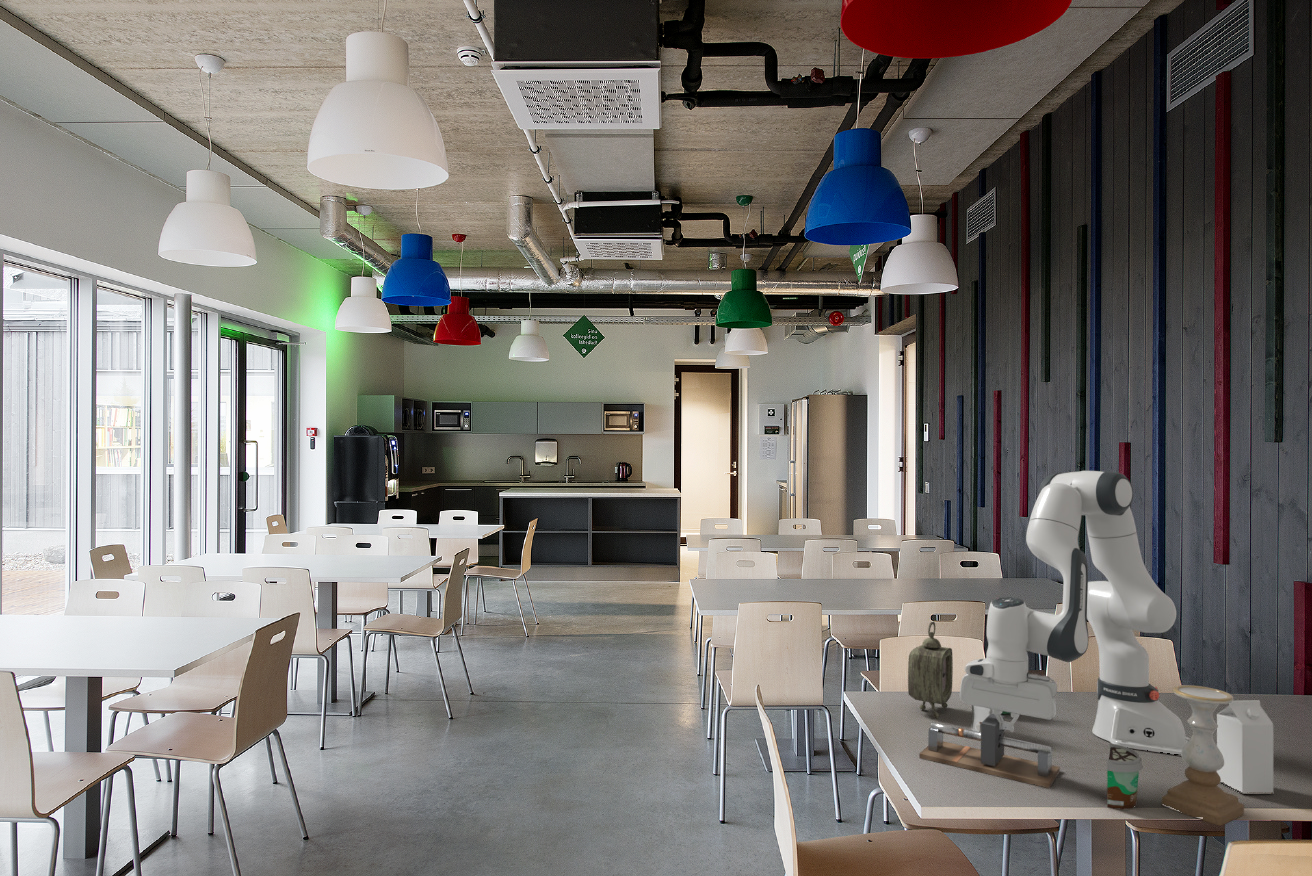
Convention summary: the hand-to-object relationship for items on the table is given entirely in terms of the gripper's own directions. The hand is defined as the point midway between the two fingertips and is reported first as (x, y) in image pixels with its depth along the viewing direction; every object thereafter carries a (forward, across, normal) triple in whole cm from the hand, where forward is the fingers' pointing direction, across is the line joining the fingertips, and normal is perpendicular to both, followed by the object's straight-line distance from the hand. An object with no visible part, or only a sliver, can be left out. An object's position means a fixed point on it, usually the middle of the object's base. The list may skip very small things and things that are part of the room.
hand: (1006, 730), depth 183 cm
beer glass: (+9, +11, -24) cm, 28 cm away
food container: (+9, -24, +4) cm, 26 cm away
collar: (+7, +3, 0) cm, 8 cm away
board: (+9, +4, 0) cm, 10 cm away
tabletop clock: (+9, +27, -31) cm, 42 cm away
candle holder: (+9, -37, -2) cm, 38 cm away
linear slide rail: (+9, +4, 0) cm, 10 cm away
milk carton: (+9, -44, -21) cm, 50 cm away
